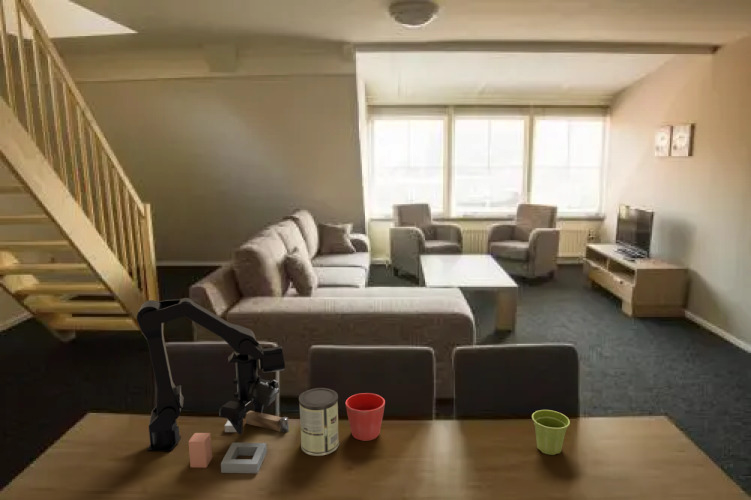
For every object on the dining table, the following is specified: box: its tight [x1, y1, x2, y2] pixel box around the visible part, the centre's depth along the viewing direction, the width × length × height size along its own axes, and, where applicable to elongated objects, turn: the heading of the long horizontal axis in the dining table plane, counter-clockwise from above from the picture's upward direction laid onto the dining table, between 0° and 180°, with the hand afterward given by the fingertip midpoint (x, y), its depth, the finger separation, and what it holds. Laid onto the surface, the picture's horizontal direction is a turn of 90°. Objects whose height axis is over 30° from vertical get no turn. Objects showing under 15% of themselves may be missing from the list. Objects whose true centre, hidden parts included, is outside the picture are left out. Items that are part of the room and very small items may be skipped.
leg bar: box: [245, 410, 283, 432], centre depth 141 cm, size 11×2×3 cm, turn 68°
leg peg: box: [188, 432, 213, 468], centre depth 123 cm, size 4×4×7 cm
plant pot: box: [531, 409, 571, 456], centre depth 129 cm, size 9×9×9 cm
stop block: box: [224, 419, 237, 433], centre depth 139 cm, size 3×3×2 cm
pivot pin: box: [280, 416, 290, 433], centre depth 138 cm, size 2×2×4 cm
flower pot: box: [344, 392, 386, 442], centre depth 136 cm, size 11×11×10 cm
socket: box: [220, 442, 268, 474], centre depth 124 cm, size 9×9×2 cm
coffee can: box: [298, 387, 340, 457], centre depth 130 cm, size 10×10×14 cm
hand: (249, 425), depth 139 cm, fingers open, 9 cm apart
